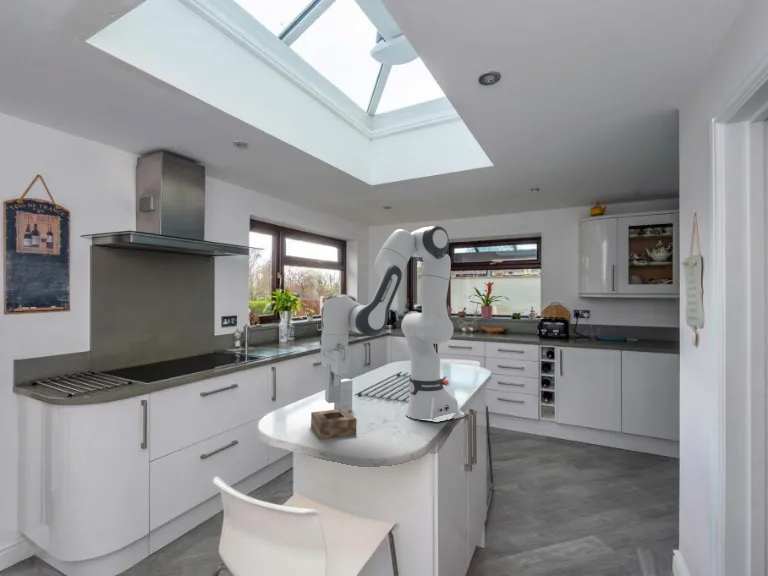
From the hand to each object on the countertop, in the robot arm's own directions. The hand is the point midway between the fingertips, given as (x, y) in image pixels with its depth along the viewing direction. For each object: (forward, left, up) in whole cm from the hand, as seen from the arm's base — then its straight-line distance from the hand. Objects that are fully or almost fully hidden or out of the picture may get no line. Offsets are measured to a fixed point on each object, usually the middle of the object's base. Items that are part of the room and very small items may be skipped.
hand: (333, 384), depth 125 cm
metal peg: (0, 0, -6) cm, 6 cm away
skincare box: (-10, -20, -16) cm, 27 cm away
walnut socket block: (0, 0, -15) cm, 15 cm away
